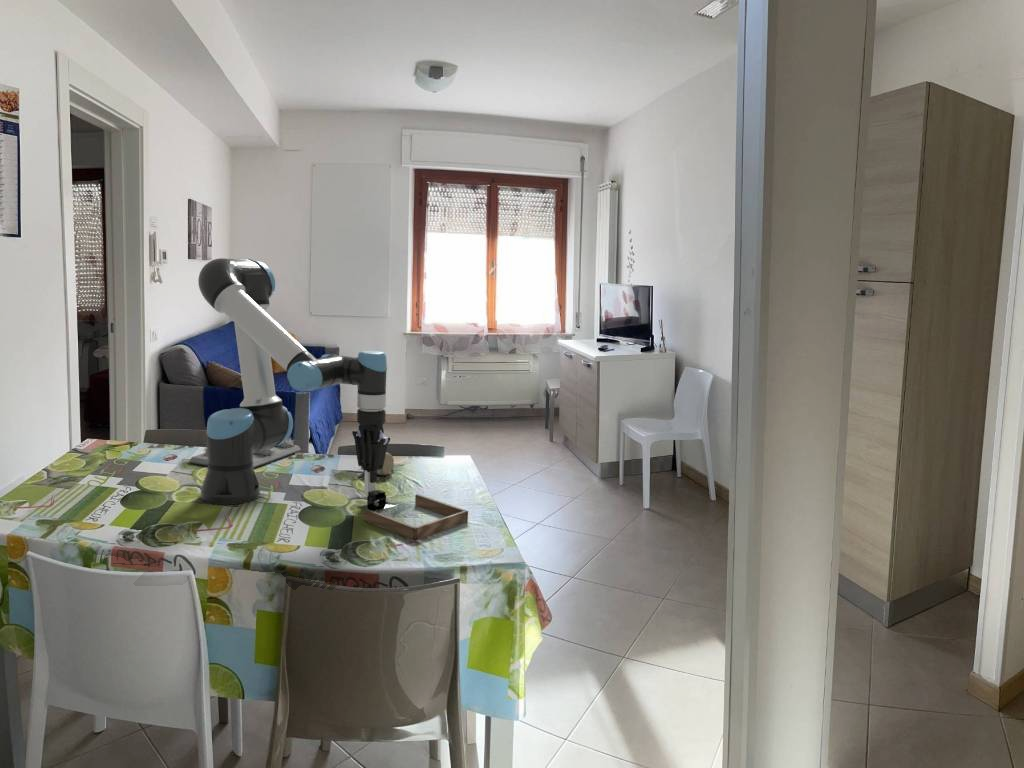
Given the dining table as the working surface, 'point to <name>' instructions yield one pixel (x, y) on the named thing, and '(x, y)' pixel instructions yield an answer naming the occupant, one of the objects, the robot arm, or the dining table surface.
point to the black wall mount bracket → (374, 497)
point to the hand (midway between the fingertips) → (369, 493)
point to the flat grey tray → (259, 454)
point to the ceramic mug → (386, 465)
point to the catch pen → (453, 519)
